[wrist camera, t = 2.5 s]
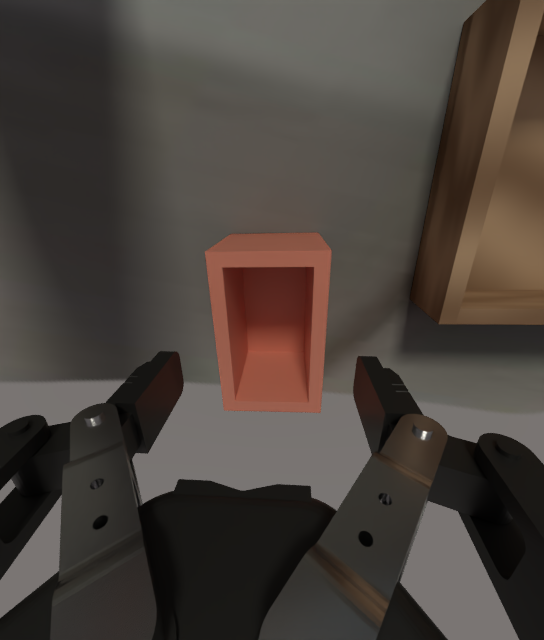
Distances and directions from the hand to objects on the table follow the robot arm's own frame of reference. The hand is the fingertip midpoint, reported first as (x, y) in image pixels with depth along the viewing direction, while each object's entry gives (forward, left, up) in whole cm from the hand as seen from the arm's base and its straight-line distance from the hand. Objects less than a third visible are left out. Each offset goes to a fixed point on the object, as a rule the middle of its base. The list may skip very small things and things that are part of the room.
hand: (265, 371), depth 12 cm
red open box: (-1, 0, -8) cm, 8 cm away
